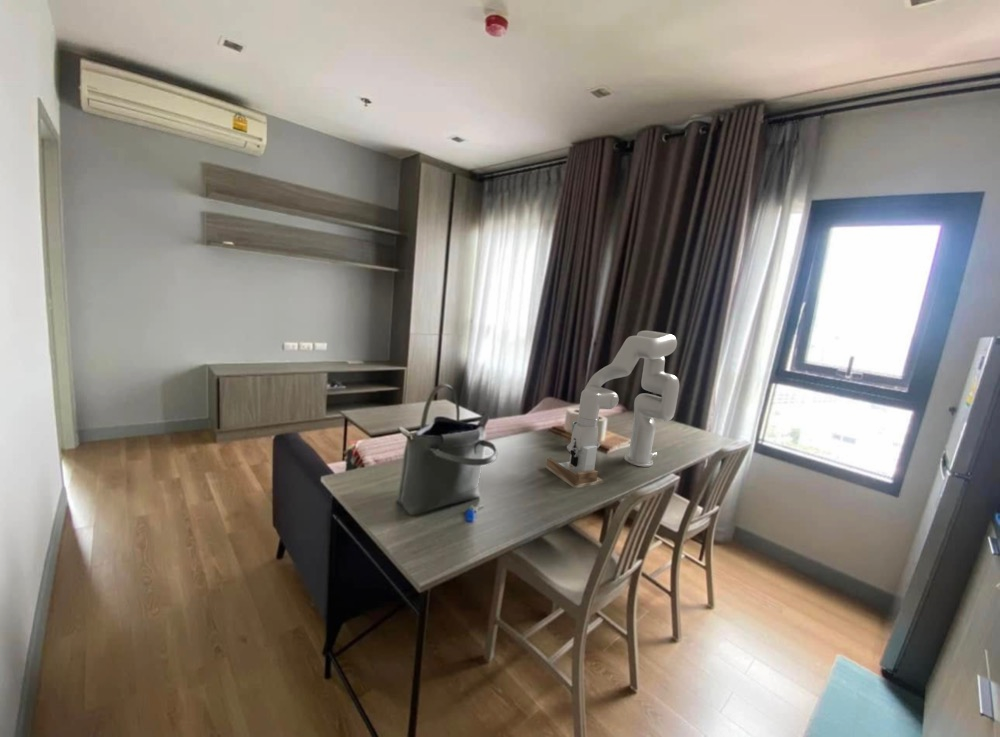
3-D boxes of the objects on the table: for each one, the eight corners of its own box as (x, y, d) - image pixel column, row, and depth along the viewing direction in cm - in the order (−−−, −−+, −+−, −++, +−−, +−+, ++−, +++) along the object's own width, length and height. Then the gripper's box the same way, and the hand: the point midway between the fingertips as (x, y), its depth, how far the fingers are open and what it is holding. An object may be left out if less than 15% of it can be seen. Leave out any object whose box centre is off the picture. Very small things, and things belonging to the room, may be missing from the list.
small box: (593, 477, 163) (598, 446, 160) (582, 480, 159) (587, 449, 156) (577, 469, 169) (582, 439, 166) (567, 472, 165) (571, 441, 163)
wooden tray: (572, 463, 178) (574, 452, 177) (602, 483, 161) (604, 470, 161) (545, 467, 171) (547, 455, 170) (574, 488, 155) (576, 475, 154)
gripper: (597, 417, 167) (592, 458, 170) (563, 419, 159) (558, 462, 162) (610, 422, 161) (604, 465, 164) (575, 426, 152) (570, 470, 155)
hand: (581, 463), depth 163 cm, fingers open, 7 cm apart
